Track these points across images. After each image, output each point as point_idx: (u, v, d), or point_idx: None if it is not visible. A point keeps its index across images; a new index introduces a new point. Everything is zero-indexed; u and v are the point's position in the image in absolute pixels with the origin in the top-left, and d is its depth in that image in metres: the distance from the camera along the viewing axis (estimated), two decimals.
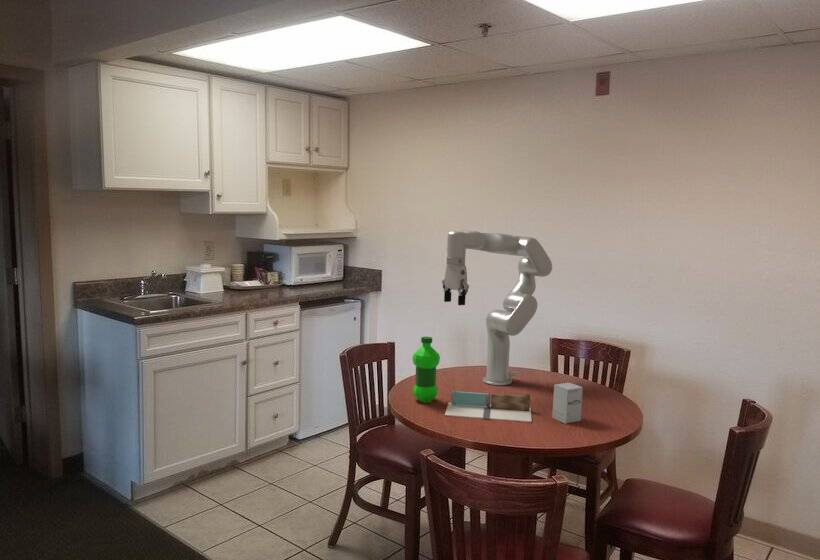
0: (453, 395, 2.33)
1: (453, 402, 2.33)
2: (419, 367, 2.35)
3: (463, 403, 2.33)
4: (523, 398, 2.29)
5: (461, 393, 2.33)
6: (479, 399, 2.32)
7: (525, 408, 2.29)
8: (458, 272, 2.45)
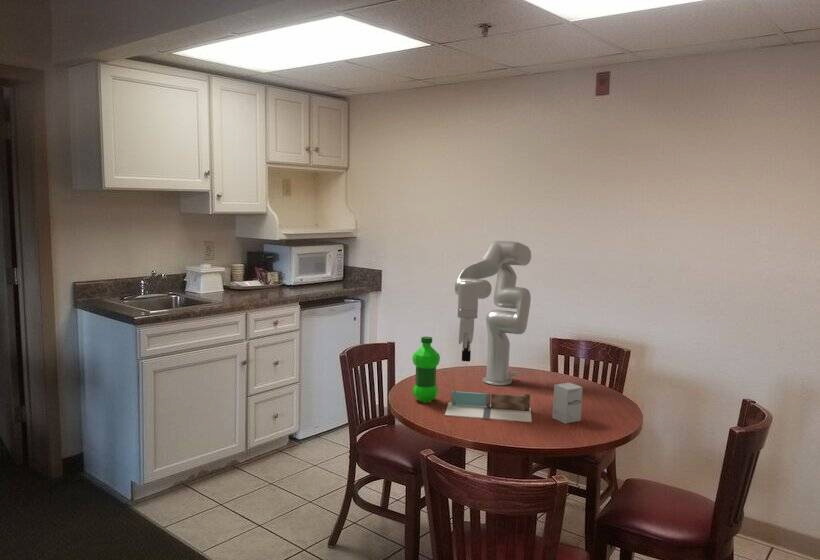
0: (453, 395, 2.33)
1: (453, 402, 2.33)
2: (419, 367, 2.35)
3: (463, 403, 2.33)
4: (523, 398, 2.29)
5: (461, 393, 2.33)
6: (479, 399, 2.32)
7: (525, 408, 2.29)
8: None
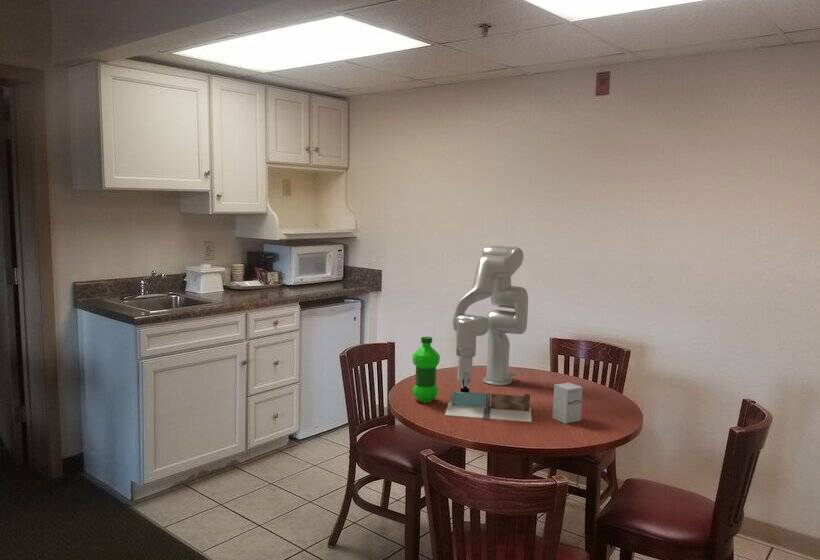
0: (453, 395, 2.32)
1: (453, 402, 2.33)
2: (419, 367, 2.35)
3: (463, 403, 2.32)
4: (523, 398, 2.29)
5: (461, 393, 2.32)
6: (479, 399, 2.31)
7: (525, 408, 2.29)
8: None
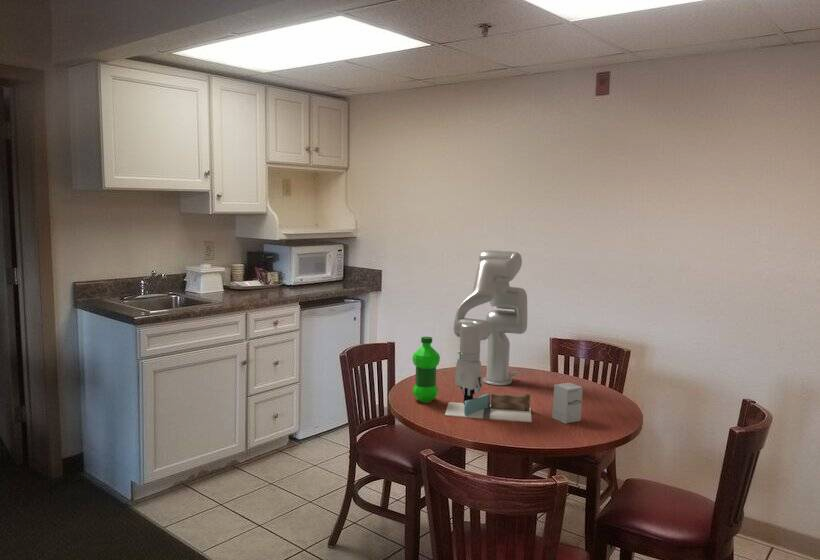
0: (468, 405, 2.22)
1: (468, 412, 2.22)
2: (419, 367, 2.35)
3: (474, 410, 2.25)
4: (523, 398, 2.29)
5: (473, 400, 2.24)
6: (484, 401, 2.29)
7: (525, 408, 2.29)
8: None
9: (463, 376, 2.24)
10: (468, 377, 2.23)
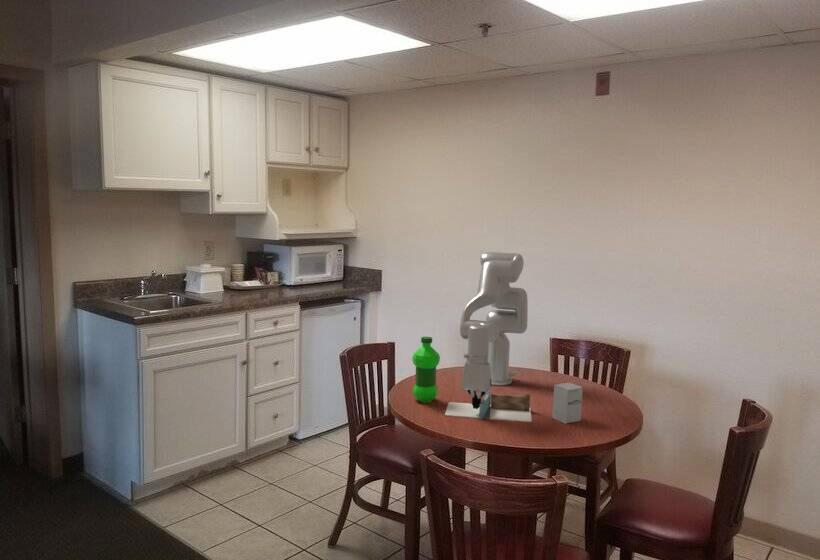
0: (484, 407, 2.19)
1: None
2: (419, 367, 2.35)
3: (485, 412, 2.23)
4: (523, 398, 2.29)
5: (485, 402, 2.22)
6: (488, 402, 2.28)
7: (525, 408, 2.29)
8: None
9: (474, 379, 2.21)
10: (481, 380, 2.20)
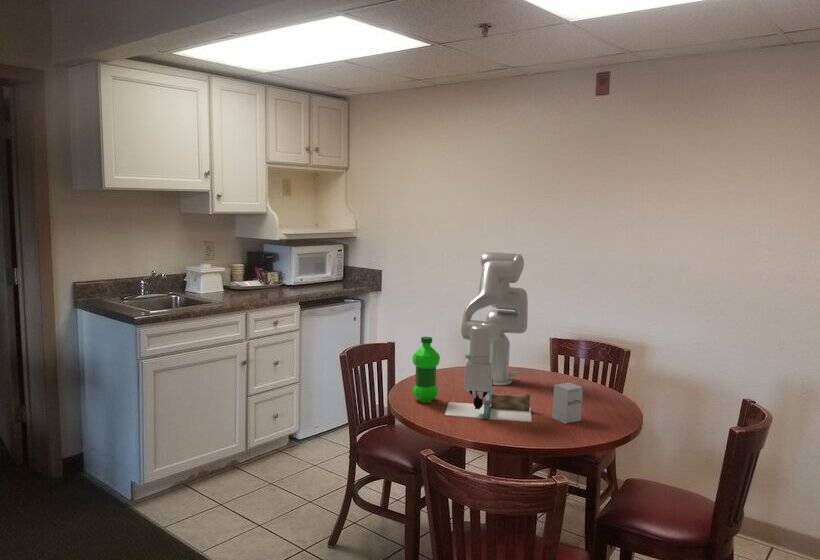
0: (488, 408, 2.19)
1: (488, 415, 2.19)
2: (419, 367, 2.35)
3: None
4: (523, 398, 2.29)
5: (488, 403, 2.22)
6: None
7: (525, 408, 2.29)
8: None
9: (476, 380, 2.20)
10: (483, 380, 2.19)
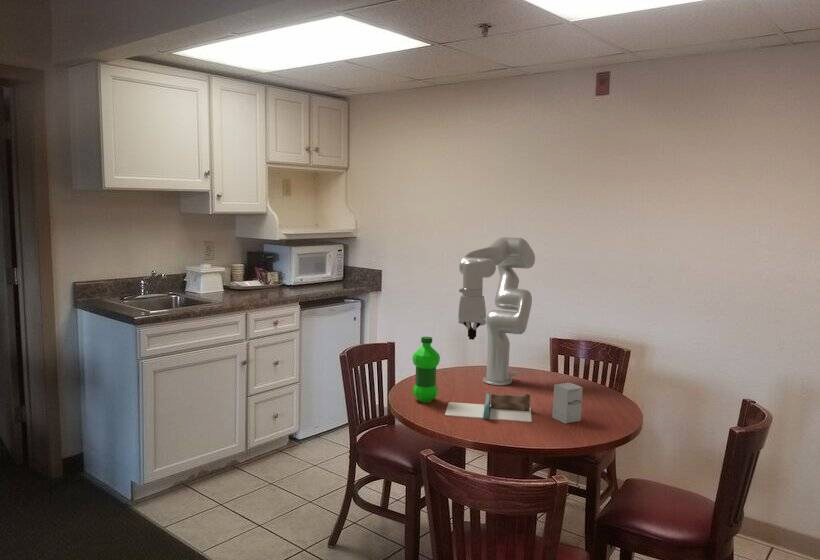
0: (488, 408, 2.19)
1: (488, 415, 2.19)
2: (419, 367, 2.35)
3: None
4: (523, 398, 2.29)
5: (488, 403, 2.22)
6: None
7: (525, 408, 2.29)
8: None
9: (470, 311, 2.35)
10: (476, 311, 2.34)
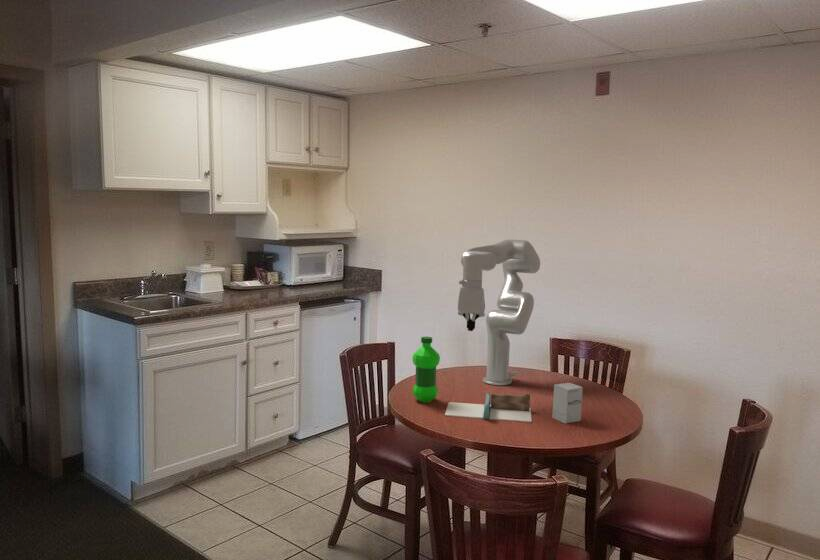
0: (488, 408, 2.19)
1: (488, 415, 2.19)
2: (419, 367, 2.35)
3: None
4: (523, 398, 2.29)
5: (488, 403, 2.22)
6: None
7: (525, 408, 2.29)
8: None
9: (469, 303, 2.39)
10: (475, 303, 2.38)
